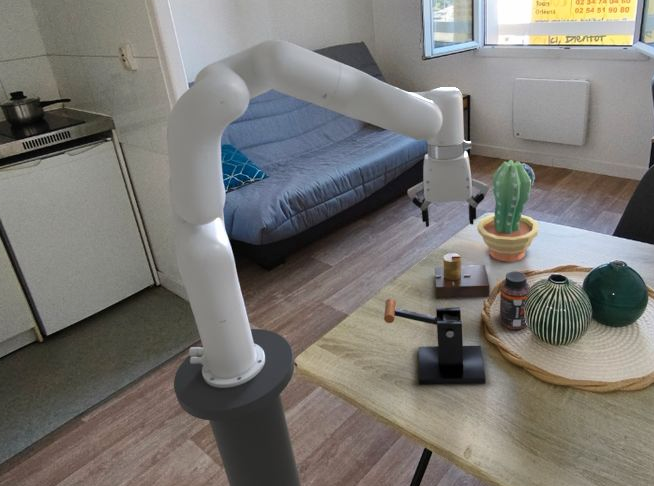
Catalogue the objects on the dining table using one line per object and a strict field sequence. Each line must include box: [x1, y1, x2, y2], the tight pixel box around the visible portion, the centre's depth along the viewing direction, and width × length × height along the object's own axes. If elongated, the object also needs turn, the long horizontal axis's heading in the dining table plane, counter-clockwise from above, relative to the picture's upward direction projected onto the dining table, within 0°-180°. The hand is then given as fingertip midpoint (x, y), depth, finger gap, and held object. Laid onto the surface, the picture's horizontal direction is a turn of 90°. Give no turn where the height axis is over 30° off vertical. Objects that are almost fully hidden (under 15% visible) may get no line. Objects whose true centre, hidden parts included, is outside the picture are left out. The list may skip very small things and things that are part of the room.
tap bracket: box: [418, 306, 487, 385], centre depth 93 cm, size 12×9×12 cm
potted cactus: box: [476, 159, 540, 263], centre depth 126 cm, size 15×15×25 cm
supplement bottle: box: [499, 270, 532, 330], centre depth 103 cm, size 6×6×11 cm
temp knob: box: [442, 252, 462, 280], centre depth 117 cm, size 4×4×5 cm
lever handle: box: [383, 298, 458, 326], centre depth 91 cm, size 13×5×2 cm, turn 86°
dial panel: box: [434, 264, 490, 299], centre depth 118 cm, size 12×9×3 cm
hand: (449, 223), depth 111 cm, fingers open, 9 cm apart
